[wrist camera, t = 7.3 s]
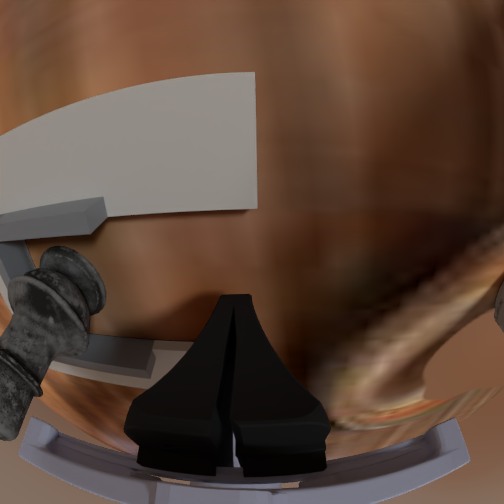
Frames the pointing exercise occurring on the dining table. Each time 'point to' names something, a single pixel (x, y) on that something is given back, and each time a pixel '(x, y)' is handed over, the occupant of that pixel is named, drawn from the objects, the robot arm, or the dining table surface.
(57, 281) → the black chess piece
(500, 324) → the supplement can
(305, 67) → the dining table surface
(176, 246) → the dining table surface
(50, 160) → the board
